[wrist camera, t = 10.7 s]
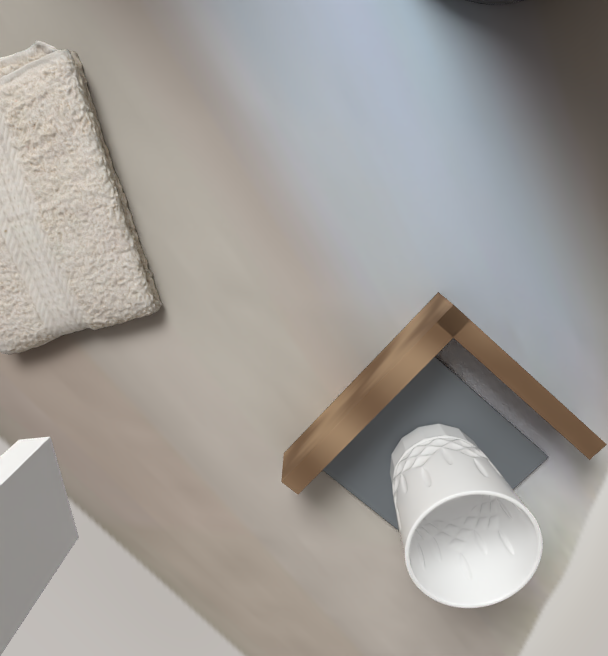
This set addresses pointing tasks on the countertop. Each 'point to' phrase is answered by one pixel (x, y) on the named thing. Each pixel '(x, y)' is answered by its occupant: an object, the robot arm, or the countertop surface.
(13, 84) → the washcloth
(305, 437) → the corner walls
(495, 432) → the mat
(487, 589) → the white cup
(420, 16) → the countertop surface
